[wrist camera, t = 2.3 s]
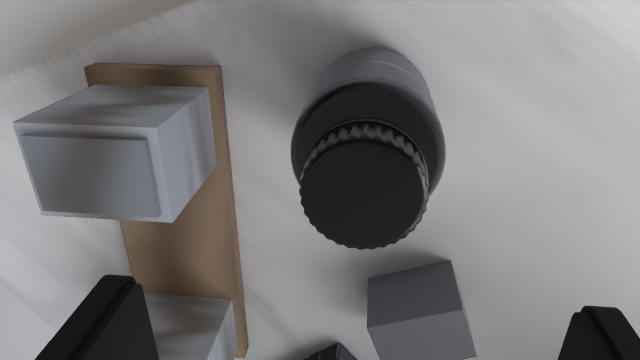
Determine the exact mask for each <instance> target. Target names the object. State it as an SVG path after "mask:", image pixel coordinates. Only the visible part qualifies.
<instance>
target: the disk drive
mask: <svg viewBox="0 0 640 360" xmlns="http://www.w3.org/2000/svg"><path fill="white" fill-rule="evenodd" d="M304 360H357V359H356V358H355V357H354V356H353V355H352V354H351V353H350V352H349V351H348V350H347V349H346V348H345V347H344V346H343V345H342V344H341V343H340V342H338V343H336V344H334V345H332V346H330V347H328V348H326V349H324V350H322V351H319V352H317V353H315V354H313V355H311V356H309V357H308V358H306V359H304Z"/></svg>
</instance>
